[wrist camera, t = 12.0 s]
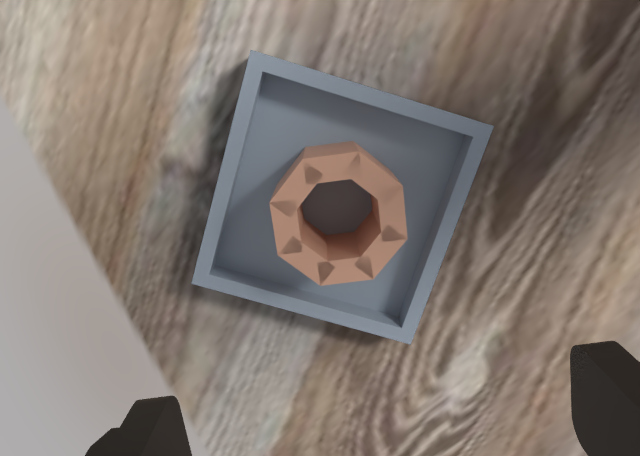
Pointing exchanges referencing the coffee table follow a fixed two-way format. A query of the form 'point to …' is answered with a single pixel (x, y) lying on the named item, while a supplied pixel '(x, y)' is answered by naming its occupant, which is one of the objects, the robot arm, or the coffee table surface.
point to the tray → (336, 193)
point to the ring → (344, 248)
